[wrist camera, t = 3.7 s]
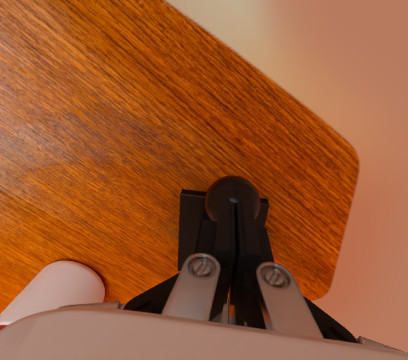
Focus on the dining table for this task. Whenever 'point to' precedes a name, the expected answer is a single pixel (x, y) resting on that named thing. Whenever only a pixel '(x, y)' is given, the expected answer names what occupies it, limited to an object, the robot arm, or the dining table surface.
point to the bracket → (191, 228)
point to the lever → (236, 191)
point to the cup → (55, 291)
